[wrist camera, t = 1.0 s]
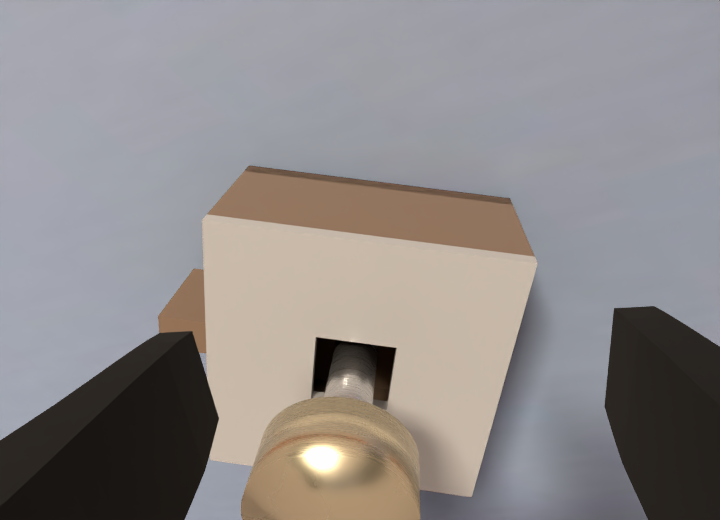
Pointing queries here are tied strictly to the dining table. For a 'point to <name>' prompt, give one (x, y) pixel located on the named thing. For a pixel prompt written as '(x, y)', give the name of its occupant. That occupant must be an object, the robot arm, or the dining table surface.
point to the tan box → (358, 307)
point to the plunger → (336, 453)
